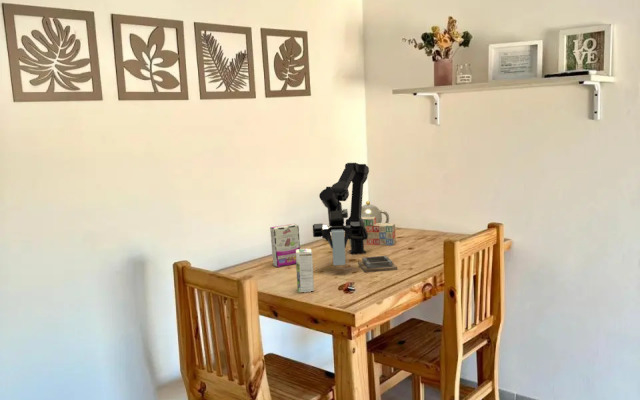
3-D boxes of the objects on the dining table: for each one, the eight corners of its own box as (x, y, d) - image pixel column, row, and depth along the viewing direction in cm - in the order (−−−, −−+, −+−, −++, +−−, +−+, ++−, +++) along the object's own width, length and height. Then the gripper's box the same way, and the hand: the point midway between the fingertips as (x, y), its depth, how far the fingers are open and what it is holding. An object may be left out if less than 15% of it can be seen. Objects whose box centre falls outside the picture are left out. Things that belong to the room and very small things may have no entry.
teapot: (351, 235, 293) (350, 203, 291) (357, 229, 306) (356, 199, 304) (387, 235, 288) (386, 203, 286) (392, 230, 301) (390, 198, 298)
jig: (358, 264, 238) (357, 257, 238) (389, 261, 240) (389, 254, 240) (364, 272, 226) (364, 265, 225) (397, 269, 227) (397, 262, 227)
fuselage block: (333, 262, 228) (331, 229, 226) (344, 261, 228) (343, 229, 226) (333, 265, 223) (332, 232, 221) (345, 264, 223) (344, 231, 221)
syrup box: (297, 288, 210) (294, 249, 208) (313, 287, 211) (311, 247, 208) (297, 293, 205) (295, 252, 202) (314, 292, 205) (312, 251, 203)
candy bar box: (296, 260, 249) (294, 223, 247) (301, 263, 245) (299, 224, 242) (272, 265, 244) (269, 226, 242) (276, 267, 240) (274, 228, 237)
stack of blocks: (396, 242, 273) (395, 216, 271) (392, 245, 268) (392, 219, 266) (352, 241, 281) (351, 216, 279) (348, 244, 275) (347, 218, 273)
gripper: (311, 203, 225) (313, 237, 216) (359, 200, 226) (364, 234, 217) (312, 219, 234) (314, 253, 225) (358, 217, 235) (362, 250, 226)
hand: (338, 247), depth 223 cm, fingers closed on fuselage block, 4 cm apart
